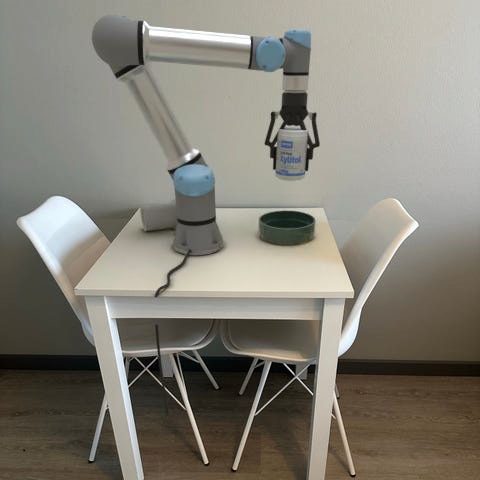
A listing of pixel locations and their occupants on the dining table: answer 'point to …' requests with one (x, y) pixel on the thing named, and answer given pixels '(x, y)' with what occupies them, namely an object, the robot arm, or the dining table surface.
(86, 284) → the dining table surface
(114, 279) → the dining table surface
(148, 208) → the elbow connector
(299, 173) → the supplement tub
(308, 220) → the dark green bowl
